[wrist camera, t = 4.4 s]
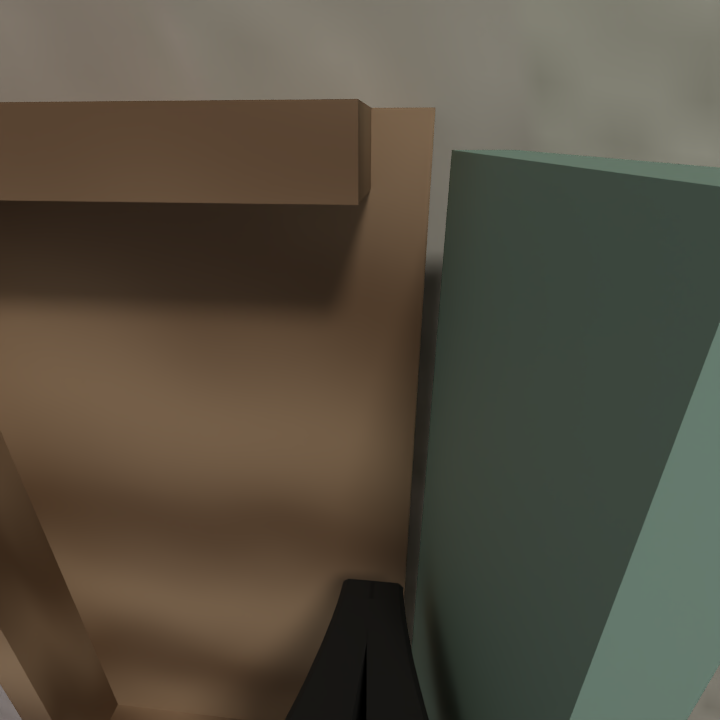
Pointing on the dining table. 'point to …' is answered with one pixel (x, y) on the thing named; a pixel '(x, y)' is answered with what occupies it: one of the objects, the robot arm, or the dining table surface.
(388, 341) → the tray
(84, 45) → the dining table surface
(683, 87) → the dining table surface
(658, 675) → the panel
